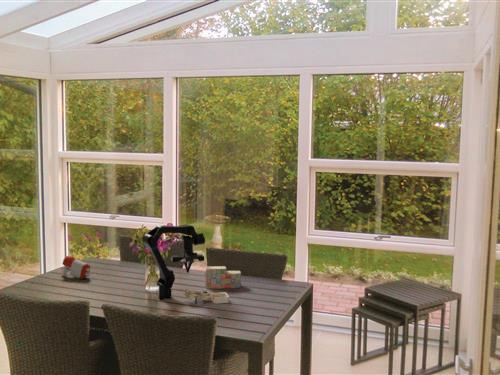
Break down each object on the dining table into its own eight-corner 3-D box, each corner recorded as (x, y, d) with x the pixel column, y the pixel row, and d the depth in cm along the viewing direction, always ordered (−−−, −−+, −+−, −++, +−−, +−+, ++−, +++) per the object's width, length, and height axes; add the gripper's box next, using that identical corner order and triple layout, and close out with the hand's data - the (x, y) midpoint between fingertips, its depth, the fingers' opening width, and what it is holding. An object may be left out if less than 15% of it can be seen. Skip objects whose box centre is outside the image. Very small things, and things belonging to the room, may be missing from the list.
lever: (186, 297, 282) (187, 292, 281) (182, 290, 295) (183, 285, 294) (211, 301, 286) (212, 295, 286) (206, 293, 299) (207, 288, 299)
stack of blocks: (239, 285, 321) (240, 265, 320) (240, 288, 315) (241, 268, 314) (205, 285, 318) (205, 266, 317) (205, 288, 312) (206, 268, 311)
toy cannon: (83, 286, 323) (88, 266, 321) (58, 275, 329) (62, 255, 327) (89, 284, 329) (94, 263, 326) (64, 273, 335) (69, 253, 332)
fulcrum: (195, 305, 282) (195, 297, 281) (192, 299, 291) (192, 292, 290) (204, 304, 283) (204, 296, 283) (200, 299, 292) (201, 291, 291)
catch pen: (214, 303, 285) (214, 297, 285) (211, 298, 293) (211, 293, 293) (229, 302, 287) (229, 296, 287) (225, 297, 296) (225, 292, 295)
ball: (219, 295, 288) (220, 301, 289) (217, 293, 291) (218, 299, 292) (213, 296, 287) (214, 302, 288) (211, 294, 290) (212, 300, 291)
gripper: (173, 250, 290) (173, 277, 292) (206, 248, 295) (206, 275, 297) (171, 245, 301) (170, 272, 302) (202, 244, 306) (202, 270, 308)
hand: (187, 272), depth 302 cm, fingers closed
